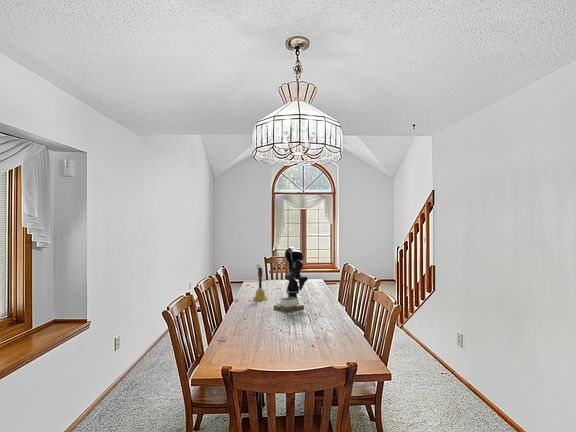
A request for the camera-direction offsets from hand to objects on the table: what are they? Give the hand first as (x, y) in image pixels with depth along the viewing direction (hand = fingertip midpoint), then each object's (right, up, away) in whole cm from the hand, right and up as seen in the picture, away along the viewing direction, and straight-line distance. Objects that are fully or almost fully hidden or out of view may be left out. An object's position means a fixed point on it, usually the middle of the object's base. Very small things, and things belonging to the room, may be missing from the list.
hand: (296, 289), depth 285 cm
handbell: (-28, -12, +22) cm, 37 cm away
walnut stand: (-5, -12, -11) cm, 17 cm away
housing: (-5, -9, -11) cm, 15 cm away
